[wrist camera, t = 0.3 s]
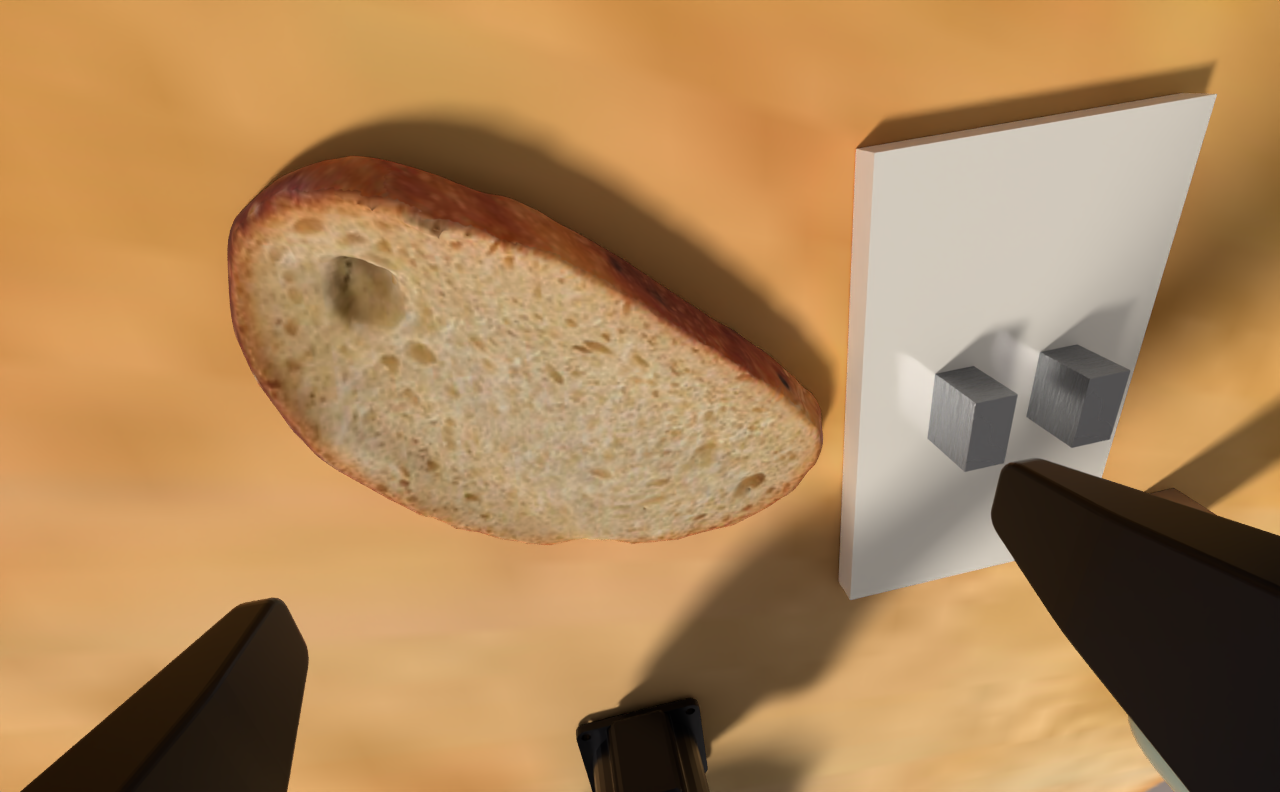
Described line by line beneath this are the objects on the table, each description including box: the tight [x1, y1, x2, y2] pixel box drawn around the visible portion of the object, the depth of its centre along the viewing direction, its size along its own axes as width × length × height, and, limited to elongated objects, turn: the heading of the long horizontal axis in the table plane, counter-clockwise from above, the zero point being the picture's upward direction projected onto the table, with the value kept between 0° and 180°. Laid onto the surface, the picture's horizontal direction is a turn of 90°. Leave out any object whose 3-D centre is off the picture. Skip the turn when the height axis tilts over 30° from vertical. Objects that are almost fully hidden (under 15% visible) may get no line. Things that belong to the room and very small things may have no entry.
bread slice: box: [228, 156, 823, 545], centre depth 21 cm, size 18×18×4 cm
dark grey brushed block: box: [927, 344, 1131, 472], centre depth 23 cm, size 3×6×2 cm, turn 98°
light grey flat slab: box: [839, 93, 1217, 600], centre depth 25 cm, size 20×12×1 cm, turn 8°
